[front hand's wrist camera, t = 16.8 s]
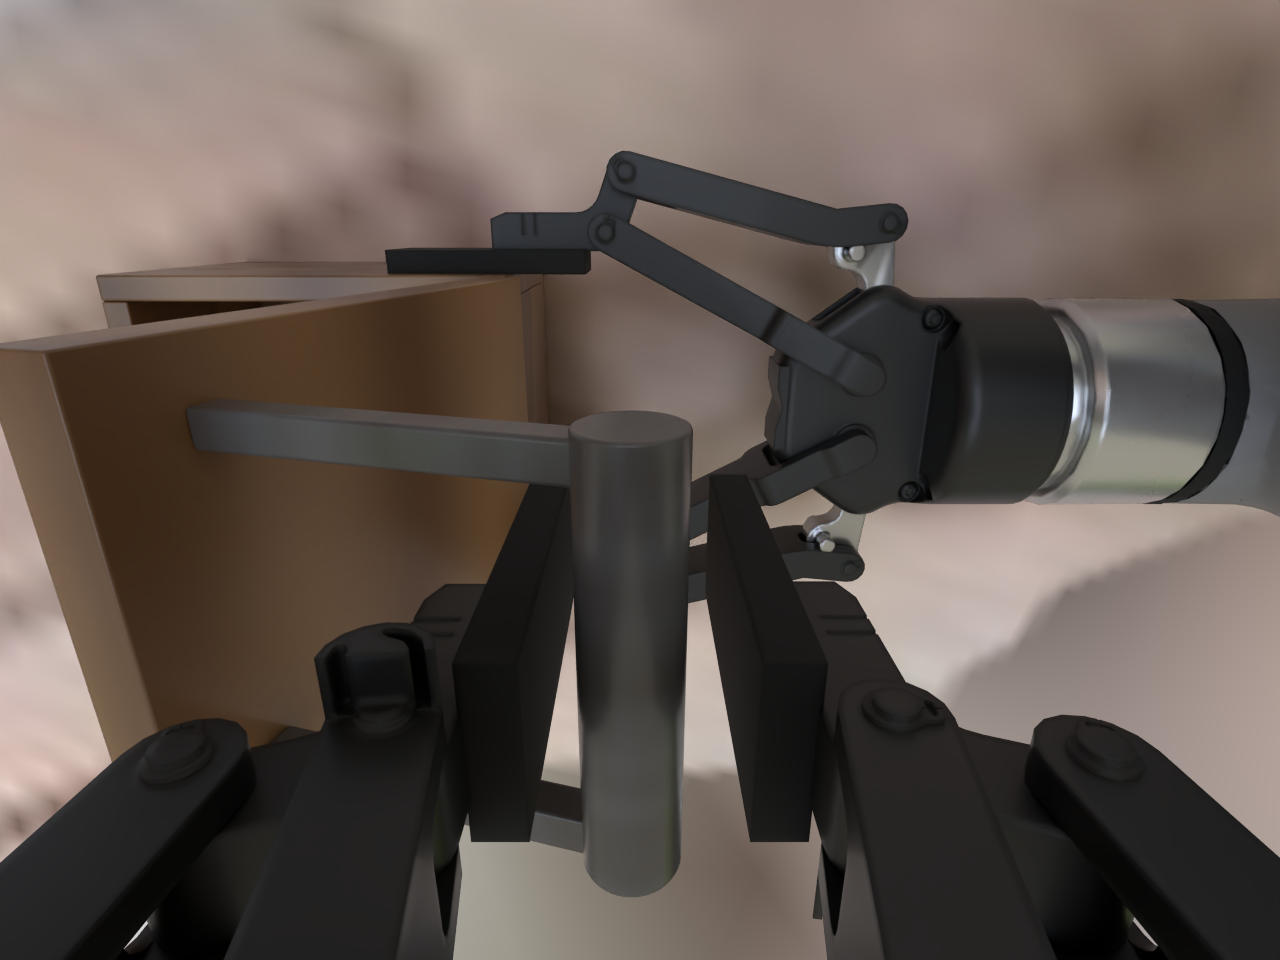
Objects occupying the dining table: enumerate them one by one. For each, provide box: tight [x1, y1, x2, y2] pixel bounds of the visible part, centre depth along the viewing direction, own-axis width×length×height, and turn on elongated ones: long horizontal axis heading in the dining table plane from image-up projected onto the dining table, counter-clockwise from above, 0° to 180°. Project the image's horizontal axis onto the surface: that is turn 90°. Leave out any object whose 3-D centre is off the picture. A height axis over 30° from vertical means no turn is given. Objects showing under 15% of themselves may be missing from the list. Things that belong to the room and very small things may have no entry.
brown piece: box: [0, 277, 693, 897], centre depth 16 cm, size 14×9×9 cm
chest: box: [96, 262, 550, 424], centre depth 28 cm, size 13×9×9 cm
